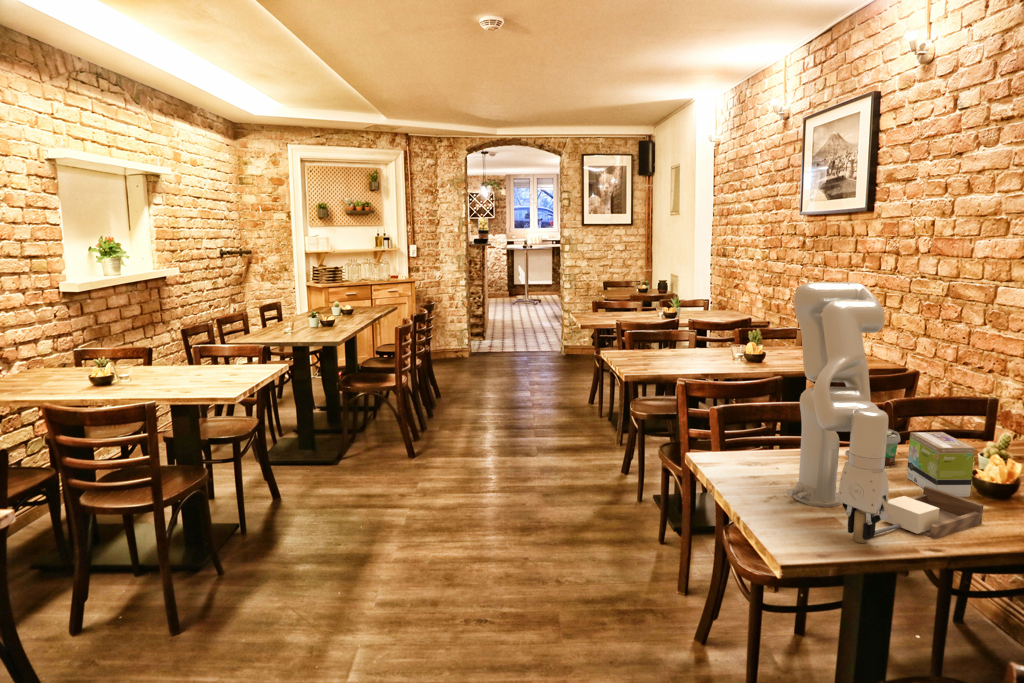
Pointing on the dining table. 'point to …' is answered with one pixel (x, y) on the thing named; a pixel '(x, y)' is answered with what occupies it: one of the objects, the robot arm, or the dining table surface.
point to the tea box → (940, 462)
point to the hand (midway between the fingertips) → (860, 534)
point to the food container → (891, 447)
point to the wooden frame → (950, 512)
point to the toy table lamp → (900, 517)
